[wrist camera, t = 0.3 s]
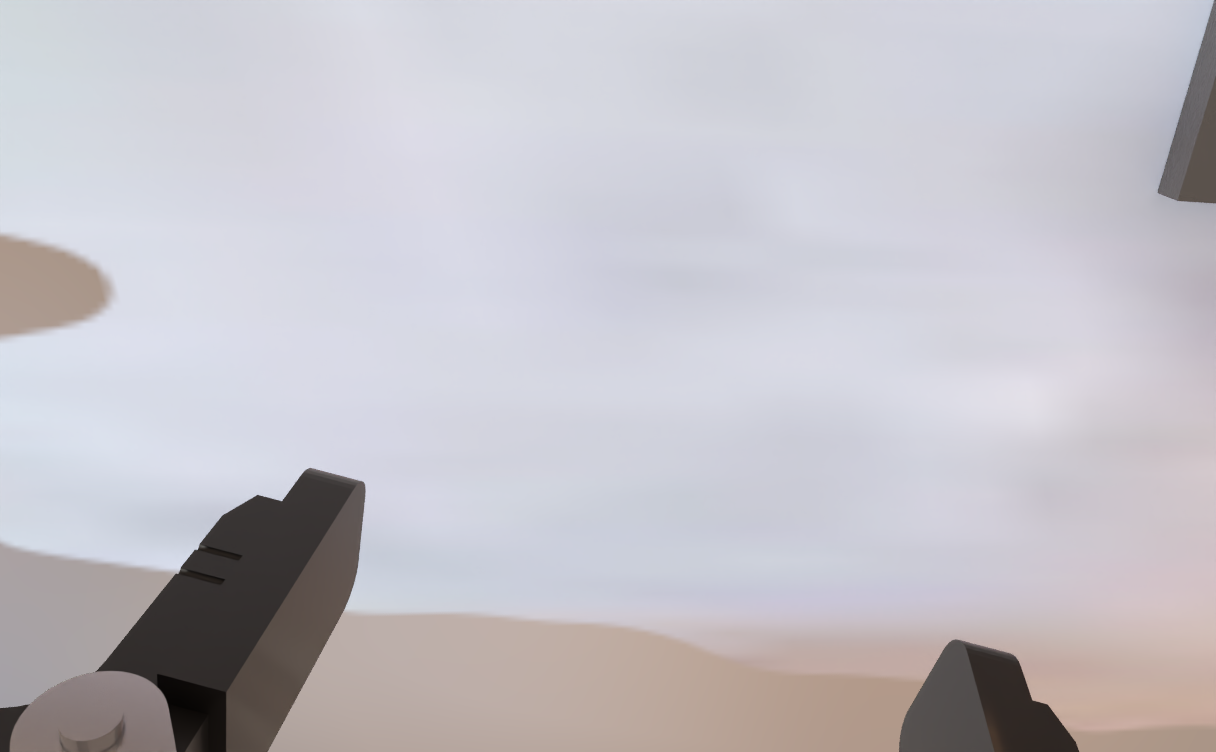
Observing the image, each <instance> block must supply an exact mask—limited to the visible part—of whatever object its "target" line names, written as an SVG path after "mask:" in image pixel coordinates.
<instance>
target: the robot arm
mask: <svg viewBox="0 0 1216 752" xmlns="http://www.w3.org/2000/svg"><path fill="white" fill-rule="evenodd" d="M364 502H365V484H364V482H362V481H358V480H354V479H351V478H347V477H343V476H339V475H335V474H332V473H328V472H324V471H320V470H316V469H312V468H309V469H307V470H306V471H304V472H303V474H302V475H301V476H300V478H299V479H298V480H297V482H296V483H295V484H294V486H293V487H292V488H291V490H290V491H289V493H288V494H287V495H286V497H285V498H284V499H283V501H279V500H275V499H271V498H267V497H263V496H259V495H257V496H255V497H253V498H252V499H250V500H248V501H247V502H245V503H243V504H242V505H240V506H238V507H236V508H235V509H233V510H231V511H230V512H228V513H226V514H224V515H223V516H222V517H221V518H220V519H219V521H218V522H217V523H216V524H215V526H214V527H213V528H212V529H211V531H210V532H209V533H208V534H207V536H206V537H205V538H204V539H203V541H202V542H201V543H200V545H199V548H198V550H194V552H193V553H192V554H191V555H190V557H189V558H188V559H187V560H186V562H185V563H184V564H183V565H182V567H181V570H180V572H179V574H175V575H174V577H173V578H172V579H171V580H170V582H169V583H168V584H167V585H166V587H165V588H164V589H163V590H162V592H161V593H160V594H159V595H158V597H157V598H156V599H155V600H154V602H153V603H152V604H151V605H150V606H149V608H148V609H147V610H146V611H145V613H144V614H143V615H142V616H141V618H140V619H139V620H138V621H137V623H136V624H135V625H134V626H133V628H132V629H131V630H130V631H129V633H128V634H127V635H126V636H125V638H124V639H123V640H122V641H121V643H120V644H119V645H118V646H117V648H116V649H115V650H114V651H113V653H112V654H111V655H110V656H109V658H108V659H107V660H106V661H105V662H104V664H103V665H102V666H101V667H100V668H99V669H98V670H97V671H96V672H93V673H88V674H84V675H80V676H77V677H74V678H71V679H68V680H66V681H64V682H61V683H59V684H57V685H56V686H54V687H52V688H50V689H48V690H47V691H46V692H44V693H43V694H42V695H40V696H39V697H38V698H37V699H35V700H34V701H33V702H32V703H31V704H29V705H24V706H18V707H9V708H0V752H267V751H268V750H269V748H270V746H271V744H272V742H273V740H274V739H275V737H276V735H277V733H278V731H279V729H280V728H281V726H282V724H283V722H284V720H285V718H286V716H287V714H288V712H289V711H290V709H291V707H292V705H293V703H294V702H295V700H296V698H297V696H298V694H299V692H300V691H301V688H302V687H303V685H304V683H305V681H306V679H307V678H308V676H309V674H310V672H311V670H312V668H313V667H314V665H315V663H316V661H317V659H318V657H319V655H320V654H321V652H322V650H323V648H324V646H325V644H326V642H327V641H328V639H329V637H330V635H331V633H332V631H333V630H334V628H335V626H336V624H337V622H338V620H339V618H340V617H341V614H342V613H343V611H344V609H345V607H346V604H347V602H348V599H349V597H350V594H351V591H352V588H353V585H354V581H355V577H356V573H357V568H358V560H359V550H360V540H361V531H362V521H363V512H364ZM899 752H1079V750H1078V747H1077V745H1076V742H1075V741H1074V739H1073V738H1072V737H1071V735H1070V734H1069V733H1068V731H1067V730H1066V729H1065V727H1064V726H1063V725H1062V723H1061V722H1060V721H1059V719H1058V718H1057V717H1056V715H1055V714H1054V712H1053V711H1052V710H1051V708H1050V707H1049V706H1048V705H1047V704H1044V703H1040V702H1036V701H1032V698H1031V695H1030V692H1029V689H1028V686H1027V684H1026V681H1025V678H1024V675H1023V672H1022V669H1021V666H1020V663H1019V661H1018V660H1017V658H1016V657H1015V656H1014V655H1012V654H1010V653H1007V652H1003V651H999V650H995V649H991V648H988V647H984V646H980V645H976V644H972V643H969V642H965V641H961V640H952V641H951V642H949V643H948V645H947V646H946V647H945V649H944V650H943V652H942V653H941V655H940V657H939V659H938V660H937V662H936V664H935V665H934V667H933V669H932V671H931V672H930V674H929V676H928V677H927V679H926V681H925V683H924V684H923V686H922V688H921V689H920V691H919V693H918V695H917V696H916V698H915V700H914V701H913V703H912V705H911V706H910V708H909V710H908V712H907V714H906V716H905V719H904V722H903V726H902V730H901V735H900V743H899Z"/></svg>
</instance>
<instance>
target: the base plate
mask: <svg viewBox="0 0 1216 752" xmlns="http://www.w3.org/2000/svg"><path fill="white" fill-rule="evenodd" d="M1158 193H1159V194H1162V195H1164V196H1167V197H1169V198H1172V199H1175V200H1177V201H1189V202H1204V203H1216V0H1214V4H1213V7H1212V11H1211V14H1210V17H1209V21H1208V24H1207V27H1206V31H1205V34H1204V38H1203V41H1202V44H1201V48H1200V51H1199V54H1198V58H1197V61H1196V65H1195V68H1194V71H1193V75H1192V78H1191V81H1190V85H1189V88H1188V92H1187V95H1186V98H1185V102H1184V105H1183V108H1182V112H1181V115H1180V119H1179V122H1178V125H1177V129H1176V132H1175V135H1174V139H1173V142H1172V146H1171V149H1170V152H1169V156H1168V159H1167V162H1166V166H1165V169H1164V173H1163V176H1162V179H1161V183H1160V186H1159V189H1158Z"/></svg>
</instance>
